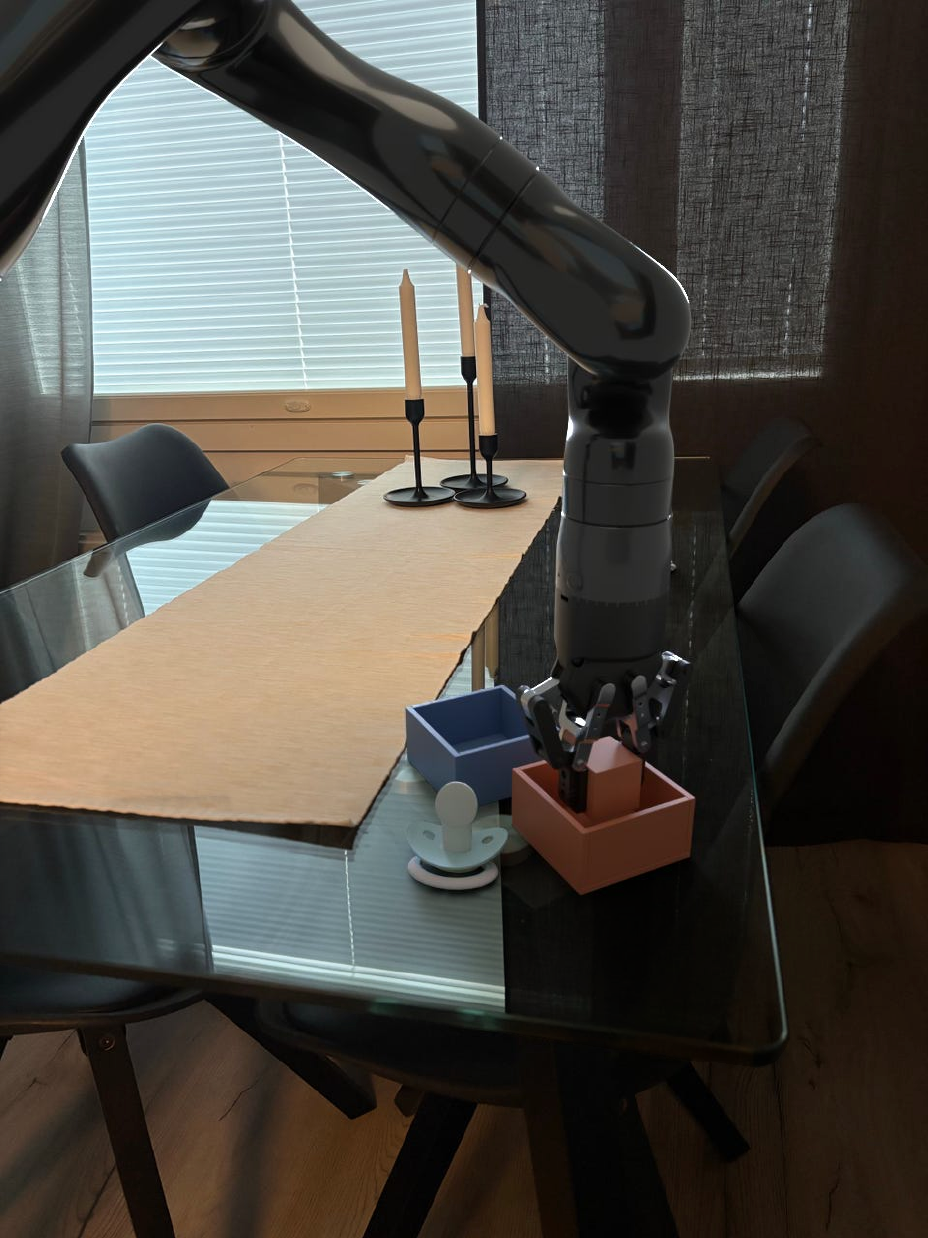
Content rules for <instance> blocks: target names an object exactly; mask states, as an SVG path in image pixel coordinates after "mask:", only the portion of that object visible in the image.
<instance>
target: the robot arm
mask: <svg viewBox="0 0 928 1238" xmlns="http://www.w3.org/2000/svg"><path fill="white" fill-rule="evenodd" d="M148 58H151V59H153V60H154V61H156V62H157V63H158V64H160V65H161V66H164V67H165V68H167V69H169V70H170V71H172V72H173V73H175V74H177V75H178V76H180V77H182V78H184V79H186V80H187V81H189V82H191V83H193V84H195V85H196V86H198V87H200V88H202V89H203V90H205V91H207V92H209V93H211V94H212V95H214V96H216V97H218V98H220V99H222V100H224V101H225V102H227V103H229V104H231V105H233V106H234V107H235V108H238V109H239V110H241V111H243V112H245V113H247V114H249V115H250V116H252V117H254V118H255V119H257V120H259V121H260V122H262V123H263V124H265V125H267V126H268V127H270V128H272V129H273V130H276V132H278V133H280V134H281V135H283V136H284V137H285V138H288V139H289V140H290V141H292V142H294V143H295V144H297V145H299V146H300V147H302V148H303V149H305V150H306V151H308V152H309V153H311V154H312V155H314V156H315V157H316V158H318V159H319V160H321V161H322V162H324V163H325V164H327V165H328V166H329V167H331V168H333V169H334V170H335V171H337V172H338V173H339V174H341V175H342V176H344V177H345V178H346V179H348V180H349V181H351V182H352V183H353V184H354V185H356V186H358V187H359V188H360V189H361V190H363V191H364V192H365V193H367V194H368V195H369V196H371V197H372V198H373V199H374V200H376V202H379V203H380V204H381V205H383V206H384V207H385V208H386V209H387V210H388V211H390V212H391V213H392V214H393V215H395V216H396V217H398V218H399V220H401V221H403V222H404V223H405V224H407V226H409V227H410V228H412V229H413V230H414V231H415V232H416V233H418V234H419V235H420V236H421V237H422V238H424V239H425V240H426V241H427V242H428V243H429V244H432V246H433V247H435V249H437V250H438V251H440V252H441V253H442V254H443V255H445V256H446V257H447V258H448V259H450V260H451V261H452V262H454V263H455V264H456V265H458V266H459V267H460V268H461V269H462V270H464V271H465V272H468V274H469V275H470V276H472V277H473V278H474V279H476V280H477V281H478V282H480V283H481V284H482V285H484V286H486V287H488V288H490V290H492V291H494V292H495V293H497V294H498V295H500V296H501V297H503V298H504V299H506V300H507V301H508V302H510V304H512V305H513V307H515V308H516V310H518V312H520V313H521V314H522V315H523V316H524V317H525V318H526V319H527V320H528V321H529V322H530V323H531V324H532V325H534V326H535V327H536V328H537V330H539V331H540V332H541V333H542V334H543V335H544V336H545V337H546V338H547V339H549V341H551V342H552V343H553V344H554V345H555V346H556V347H558V348H559V349H560V350H561V351H562V352H563V353H564V354H566V371H567V372H566V375H567V376H566V377H567V381H566V382H567V406H568V407H567V410H568V413H567V414H568V426H567V431H566V432H567V433H566V438H565V444H564V445H565V446H564V452H563V460H562V461H563V464H562V486H561V513H560V514H561V515H560V524H559V528H558V534H557V542H556V552H555V553H556V555H555V556H556V557H555V587H554V588H555V590H554V591H555V592H554V624H553V637H554V643H555V647H556V659H555V662H554V664H553V666H552V668H551V670H550V675H549V678H548V679H546V680H545V681H543V682H542V683H540V684H538V685H537V686H534V687H533V688H530V687H529V686H528V685H521V686H519V687H518V688H517V689H516V691H515V693H514V694H515V698H516V701H517V704H518V707H519V709H520V712H521V715H522V718H523V721H524V724H525V727H526V730H527V732H528V735H529V738H530V741H531V744H532V747H533V750H534V752H535V753H536V754H537V755H538V756H540V757H542V758H543V759H544V760H545V761H546V762H547V763H549V765H550V766H551V767H552V768H553V769H555V770H559V776H558V781H559V782H558V795H559V798H560V799H561V800H562V801H563V802H564V803H565V804H566V805H567V806H568V807H569V808H570V809H571V810H572V811H574V812H575V813H576V814H580V813H583V812H586V809H587V788H588V769H587V768H586V766H587V764H588V760H589V757H590V753H591V750H592V746H593V743H594V742H597V741H598V740H599V739H601V735H602V731H603V728H604V724H605V722H607V721H608V720H609V721H610V719H612V718H613V719H614V723H615V727H616V731H617V736H618V738H619V739H620V741H619V742H618V743H620V744H621V745H623V746H624V747H625V748H627V749H628V750H629V751H631V752H632V753H633V754H635V755H636V756H638V757H639V758H640V759H642V772H641V787H642V784H643V782H644V775H645V774H644V773H645V761H646V759H647V752H648V751H649V750H650V748H651V746H652V743H654V742H655V741H656V740H658V739H660V740H666V739H668V738H669V737H670V736H671V734H672V732H673V728H674V725H675V723H676V720H677V718H678V715H679V712H680V710H681V707H682V704H683V702H684V698H685V695H686V693H687V690H688V687H689V684H690V682H691V679H692V676H693V674H694V669H695V668H694V665H693V664H692V663H691V662H688V661H687V660H685V659H684V658H681V657H680V656H678V655H676V654H675V653H673V652H671V651H667V650H666V651H664V652H663V653H662V652H661V650H663V648H664V646H665V643H666V637H667V636H666V635H667V624H668V623H667V622H668V608H669V597H670V595H669V594H670V581H671V572H672V570H671V561H672V556H673V541H672V540H673V539H672V527H671V509H672V503H673V489H674V477H675V476H674V474H675V443H674V436H673V433H672V428H671V424H670V407H671V396H672V383H673V369H674V367H675V366H676V365H677V364H678V362H679V361H680V359H681V357H682V356H683V355H684V352H685V351H686V348H687V346H688V343H689V340H690V336H691V330H692V310H691V305H690V302H689V300H688V296H687V294H686V292H685V290H684V288H683V287H682V285H681V283H680V282H679V281H678V280H677V278H676V277H675V276H674V275H673V274H672V273H671V272H670V271H669V270H667V269H666V268H665V266H663V265H661V263H659V262H657V261H656V260H655V259H654V258H652V257H651V256H650V255H648V254H647V253H645V252H644V251H643V250H641V249H640V248H639V247H637V245H635V244H633V243H632V242H631V241H630V240H628V239H627V238H626V237H624V236H623V235H621V234H619V232H617V231H615V230H614V229H613V228H612V227H610V226H608V224H605V223H604V221H601V220H600V219H598V218H597V217H596V216H594V215H593V214H591V213H590V212H588V211H587V210H585V209H584V208H582V207H581V206H580V205H578V204H577V203H576V202H575V201H574V200H573V199H572V198H571V196H569V195H568V193H567V192H566V191H565V190H564V189H563V188H562V187H561V186H560V185H559V184H558V183H557V182H556V181H555V180H554V179H553V178H552V177H551V176H549V175H548V174H547V173H546V172H545V171H544V170H543V169H542V168H541V169H540V168H539V166H538V165H537V164H536V163H534V162H533V161H532V160H530V158H528V157H527V156H526V155H525V154H524V153H522V152H521V151H519V150H518V149H517V148H516V147H515V146H514V145H512V144H511V143H510V142H509V141H508V140H506V139H505V138H503V136H502V135H500V133H498V131H496V130H495V129H493V128H492V127H491V126H489V125H488V124H487V123H485V122H484V121H483V120H481V119H480V118H478V117H477V116H476V115H474V114H473V113H472V112H469V111H468V110H467V109H465V108H463V107H462V106H460V105H458V104H457V103H455V102H453V101H451V100H450V99H447V98H446V97H444V96H442V95H440V94H437V93H436V92H433V91H431V90H429V89H428V88H424V87H422V86H420V85H417V84H414V83H413V82H411V81H407V80H406V79H403V78H400V77H398V76H396V75H393V74H391V73H389V72H386V71H385V70H383V69H381V68H378V67H376V66H375V65H373V64H371V63H368V62H367V61H365V60H364V59H362V58H360V57H359V56H357V55H356V54H354V53H352V52H350V51H349V50H348V49H346V48H345V47H343V46H342V45H340V44H339V43H338V42H336V40H334V39H333V38H331V36H329V35H327V33H325V32H324V31H323V30H322V29H321V28H320V27H318V26H317V24H316V23H314V22H313V21H312V20H311V19H310V18H309V17H308V16H307V15H306V13H304V12H303V11H302V10H301V9H300V8H299V7H298V5H297V4H296V3H295V2H294V1H293V0H0V282H2V279H1V278H5V277H6V276H7V275H8V273H10V271H11V270H12V269H13V268H14V267H15V266H16V264H17V263H18V262H19V260H20V259H21V258H22V257H23V255H24V254H25V252H26V251H27V249H28V248H29V246H30V245H31V243H32V241H33V240H34V239H35V236H36V234H37V233H38V231H39V229H40V227H41V225H42V223H43V222H44V220H45V218H46V215H47V213H48V211H49V209H50V207H51V205H52V203H53V201H54V199H55V196H56V195H57V192H58V190H59V188H60V186H61V184H62V181H63V179H64V178H65V174H66V173H67V170H68V169H69V166H70V164H71V162H72V159H73V157H74V155H75V153H76V151H77V149H78V146H79V145H80V143H81V140H82V139H83V136H84V134H85V133H86V131H87V129H88V128H89V126H90V124H91V123H92V121H93V119H94V118H95V117H96V115H97V113H99V111H100V109H101V108H102V107H103V106H104V104H105V103H106V102H107V100H108V99H109V98H110V97H111V95H112V94H113V93H114V92H115V91H116V90H117V89H118V88H119V87H120V86H121V85H122V83H123V82H124V81H125V80H126V79H128V77H129V76H130V75H131V74H132V73H133V72H134V71H135V70H136V69H138V67H139V66H141V65H142V63H143V62H145V61H146V60H147V59H148ZM670 571H671V572H670ZM559 696H560V697H561V698H562V705H561V708H560V712H558V710H557V701H558V698H559ZM660 707H662V708H661V710H660ZM659 710H660V714H659V716H658V713H659ZM558 713H559V714H558ZM557 715H558V724H559V726H560V728H559V729H560V732H559V733H558V730H557V724H556V721H555V718H554V717H556V716H557ZM646 762H647V761H646Z"/></svg>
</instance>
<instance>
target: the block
mask: <svg viewBox="0 0 928 1238" xmlns="http://www.w3.org/2000/svg"><path fill="white" fill-rule="evenodd" d="M617 741H618V740H617ZM617 741H616V739H615V738H613V737H612V736H609V735H608V736H605V737H600V739H599V740H598V741H597V742H594V743H593V746H592V750H591V753H590V757H589V760H588V764H587V766H586V768H587V769H588V788H587V809H586V812H583V814H585V815H586V816H587V817H588V818H589V819H590V820H591V821H593V822H596V821H599V820H602V819H606V818H609V817H612V816H615V815H618V814H621V813H624V812H628V811H631V810H634V809H637V808H639V801H640V787H641V772H642V759H640V758H639V757H638V756H636V755H635V754H633V753H632V752H631V751H629V750H628V749H627V748H625V747H624V746H623V745H621V744H620V743H618V742H617Z"/></svg>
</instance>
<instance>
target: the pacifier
mask: <svg viewBox="0 0 928 1238" xmlns="http://www.w3.org/2000/svg"><path fill="white" fill-rule="evenodd" d="M434 807H435V808H434V809H435V812H436V815H437V817H438V819H439V820H440V821H441V826H440V825H438V824H435V823H432V822H428V821H423V820H421V821H420V820H419V821H417V820H416V821H412V822H410V823H408V824H407V826H406V829H405V839H406V842H407V845H408V847H409V849H410V851H411V852H412V853H413V854H414V855H415V856H413V857H412V858H411V859H410V860H409V862H408V864H407V871H408V873H409V874H410V876H411V877H412V878H413V879H415V880H416V881H417V882H420V883H422V884H424V885H426V886H430V887H433V888H438V889H443V890H452V891H453V890H457V891H462V890H472V889H477V888H482V887H484V886H486V885H488V884H490V883H492V882H493V881H495V880H496V878H497V876H498V874H499V870H498V869H499V868H498V866H497V865H496V863H494V861H492V860H493V859H495V858H496V857H497V856H498V855H499V854H500V853H501V852H502V851H503V849H504V848H505V846H506V844H507V842H508V835H509V834H508V831H507V829H505V828H503V827H489V828H483V829H479V830H475V831H472V822H473V821H474V819H475V817H476V816H477V812H478V806H477V798H476V796H475V793H474V792H473V790H472V789H471V788H470V787H469V786H468V785H466V784H464V783H462V782H451V783H448V784H446V785H445V786H443V787H442V788H441V790H440V791H439V792H437V795H436V797H435V801H434ZM425 835H431V836H432V837H433V839H430V838H427V837H426V836H425ZM488 840H491V841H490V842H488V843H485V842H487V841H488ZM425 864H428V865H430V866H432V867H435V868H437V869H438V870H440V871H443V872H447V873H452V874H453V873H455V874H463V873H464V874H465V873H470V872H473V871H475V870H477V869H479V868H480V867H482V868H483V871H481V872H479V873H478V874H475V875H470V876H466V877H449V876H448V877H446V876H443V875H438V874H434V873H431V872H430V871H427V870H426V869H425V868H423V867H422V866H423V865H425Z"/></svg>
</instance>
